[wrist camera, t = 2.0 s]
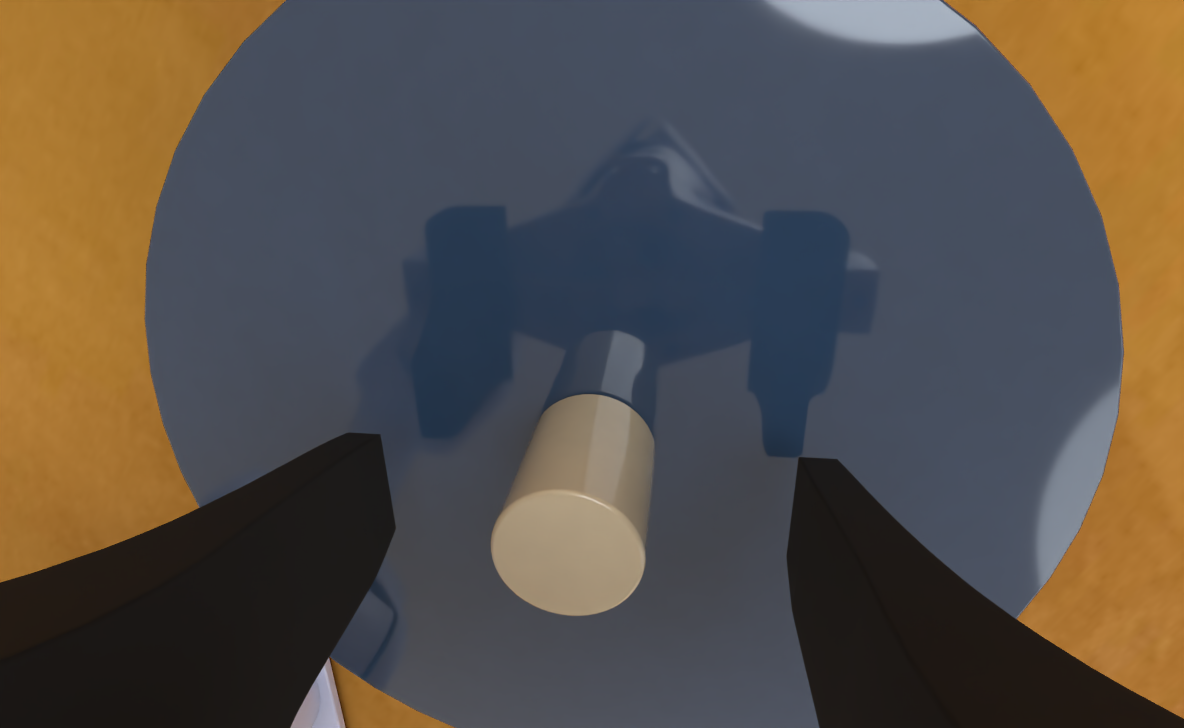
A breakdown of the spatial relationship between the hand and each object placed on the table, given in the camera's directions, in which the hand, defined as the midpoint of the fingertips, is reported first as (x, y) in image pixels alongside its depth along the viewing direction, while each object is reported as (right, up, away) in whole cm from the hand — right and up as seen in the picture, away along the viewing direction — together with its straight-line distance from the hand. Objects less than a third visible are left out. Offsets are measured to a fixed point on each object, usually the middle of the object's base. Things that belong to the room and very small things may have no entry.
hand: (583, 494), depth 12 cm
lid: (0, +1, +2) cm, 2 cm away
